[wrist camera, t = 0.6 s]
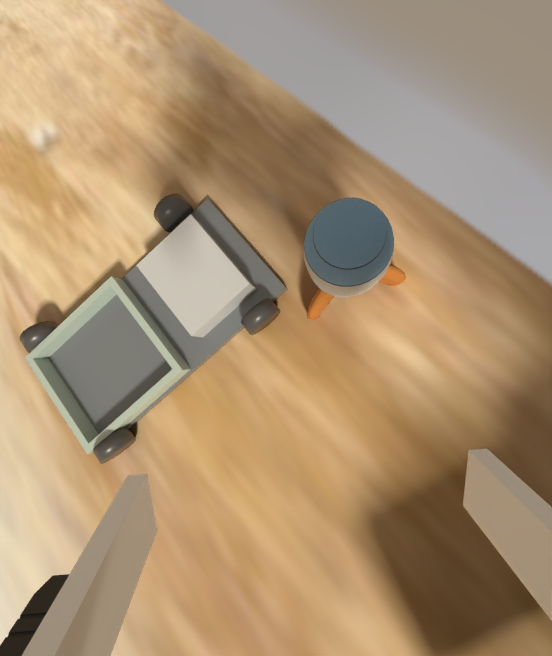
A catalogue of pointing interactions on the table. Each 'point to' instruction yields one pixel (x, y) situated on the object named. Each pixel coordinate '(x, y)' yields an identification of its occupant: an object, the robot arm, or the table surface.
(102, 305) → the toy truck
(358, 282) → the toy rocket
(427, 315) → the table surface
